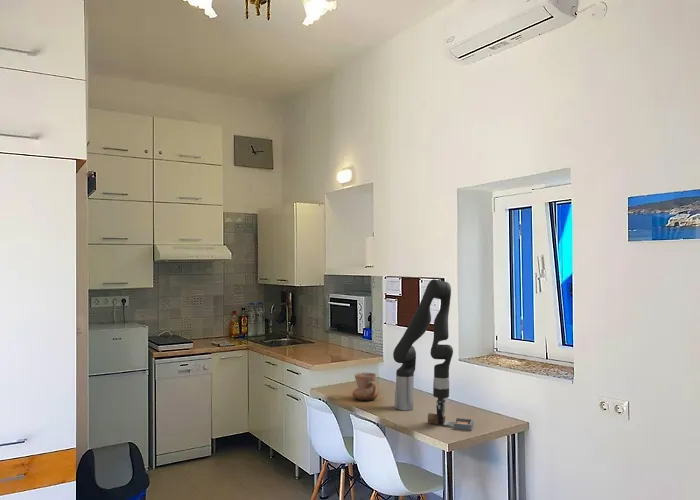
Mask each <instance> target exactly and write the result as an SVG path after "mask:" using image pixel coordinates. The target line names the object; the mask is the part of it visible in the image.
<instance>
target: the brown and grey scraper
mask: <svg viewBox="0 0 700 500" xmlns="http://www.w3.org/2000/svg"><path fill="white" fill-rule="evenodd" d="M426 422H427V423H428V424H434V425H439V426H443V427H444V428H453V429H454V423H456V422H455V421H451V420H446V415H445V414H444V415H443V424H442V425H441V424H438V416H437V413H432V412H428V413H427V421H426Z"/></svg>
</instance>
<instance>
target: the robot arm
mask: <svg viewBox="0 0 700 500" xmlns="http://www.w3.org/2000/svg"><path fill="white" fill-rule="evenodd" d="M451 287H452V286H451V284H450V283H449V282H448V281H444V280H440V279H436V278H435V279H433V278H432V279H431V280H429V282H428V284H427V286H426V288H425V290H424V293H423V295H422V298H421V301H420V303H419V305H418V306H417V308H416V311H415V313H414V314H413V316H412V317H411V320H410V322H409V324H408V326H407V327H406V330H405V331H404V333H403V335H402V337H401V339H400V340H399V342H398V343H397V344H396V346H395V348H394V350H393V353H392V358H393V360H394V362H396V363H398V364H401V366H400V367H399V368H397V369H396V373H395V375H396V377H395V379H396V380H395V382H396V383H395V390H394V409H396V410H400V411H412V410H414V390H415V389H414V385H415V383H414V382H415V381H414V379H415V377H414V376H415V375H414V373H415V371H416V363H417V352H416V349H415V347H414V343H415V342H416V341H418V340H419V339H420V338H421V337H423V335H424V334H426V332H427V330H428V328H429V326H430V324H431V323H432V314H431V305H432V302H433V300H434V299H437V300H440V308H439V310H438V312H437V314H436V316H435V317H434V320H433V339H432V340H433V341H432V345H431V348H430V352H429V353H430V356H431V358H432V359H433V360H444V361H443V362H442V363H437V364H435V365H434V367H433V383H432V385H433V387H432V389H433V390H432V394H433V397H434V398H437V400H436V414H437V416H438V424H437V425H439V424H441V425H440V426H443V425H442V424H443V415H445V413H446V404H447V403H446V399H447V398H449V397H450V366H451V361H452V358H453V354H454V349H453V347H452V345H451V344H439V343H440V342H443V341H447V340H448V339H449V313H450V305H451V297H452V288H451Z"/></svg>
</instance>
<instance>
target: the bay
mask: <svg viewBox="0 0 700 500" xmlns="http://www.w3.org/2000/svg"><path fill="white" fill-rule="evenodd" d="M455 418H456V419H455V421H456V423H454V428H453V430H461V431H470V432H471V431H472V430H473V428H474V424H475V423H474V420H475V419H472V418H464V417H455ZM457 421H459V422H468V424H459V423H457Z"/></svg>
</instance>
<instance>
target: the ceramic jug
mask: <svg viewBox="0 0 700 500" xmlns="http://www.w3.org/2000/svg"><path fill="white" fill-rule="evenodd" d="M376 378H377V374H376V373H373V372H356V373H354V379H355V382H356V385H357V387H356V388H355V389H354V390H352V395H351V396H353V398H354V399H356V400H359V401H368V402H369V401H372V400H375V399H377V398H378V397H379V393H378V391H377V386H376V385H377V384H376Z"/></svg>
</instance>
